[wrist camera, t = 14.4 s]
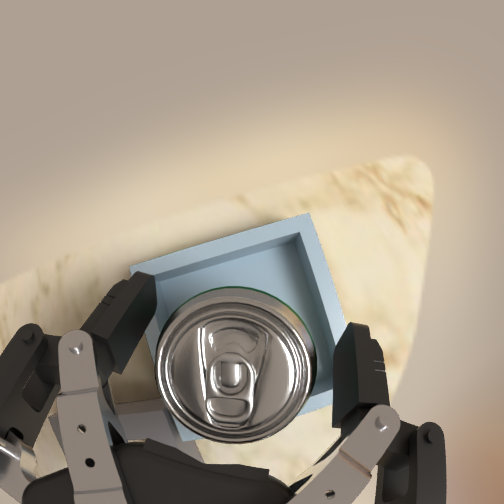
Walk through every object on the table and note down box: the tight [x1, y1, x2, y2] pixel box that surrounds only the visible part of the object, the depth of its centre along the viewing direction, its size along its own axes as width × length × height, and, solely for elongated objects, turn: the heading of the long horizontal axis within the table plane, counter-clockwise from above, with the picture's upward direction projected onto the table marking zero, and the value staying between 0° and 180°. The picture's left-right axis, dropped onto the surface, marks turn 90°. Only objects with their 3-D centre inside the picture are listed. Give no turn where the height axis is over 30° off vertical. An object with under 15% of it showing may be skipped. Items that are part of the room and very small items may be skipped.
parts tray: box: [129, 213, 347, 441], centre depth 18 cm, size 12×12×4 cm
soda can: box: [155, 286, 317, 444], centre depth 13 cm, size 5×5×12 cm
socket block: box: [48, 398, 204, 463], centre depth 15 cm, size 11×11×4 cm
